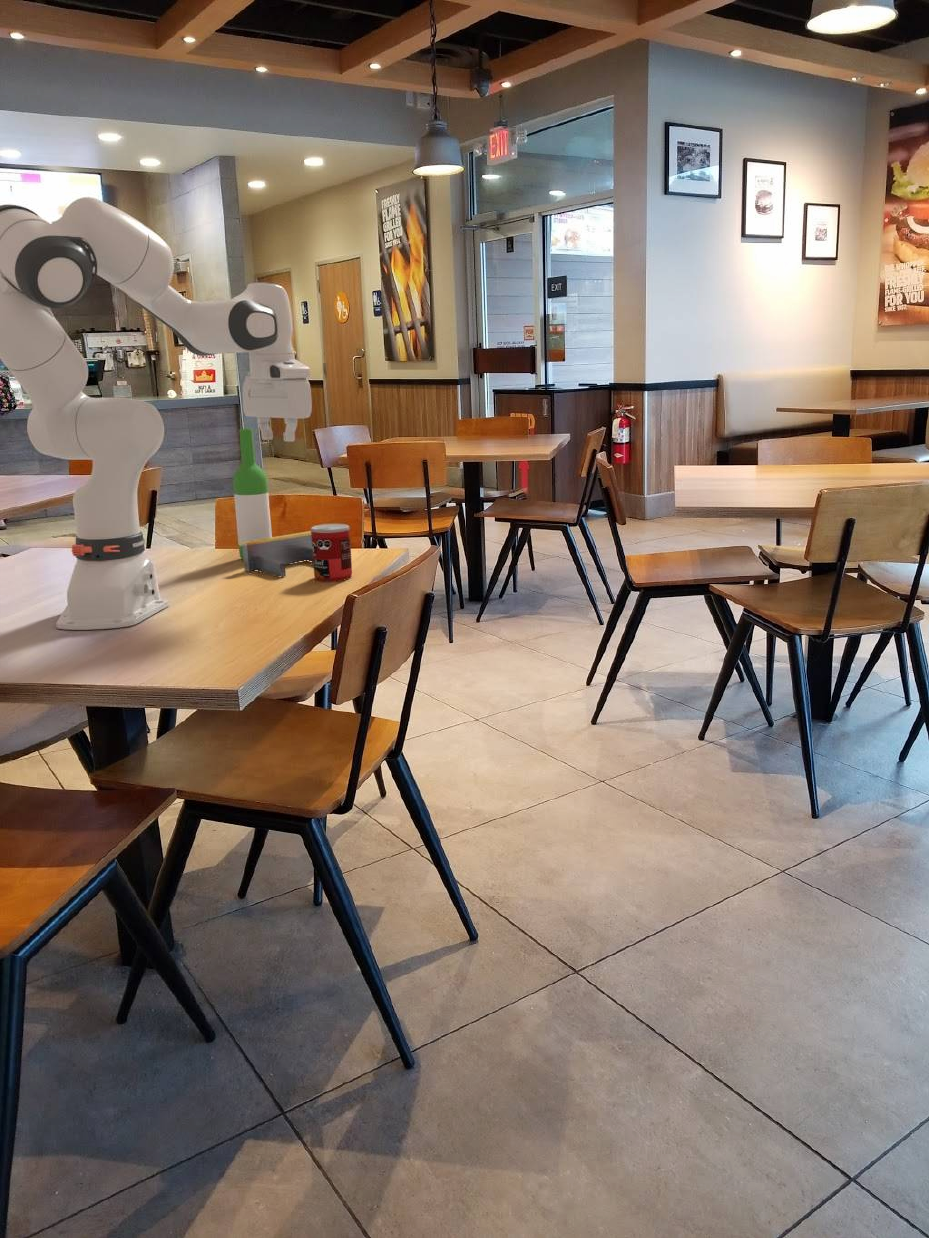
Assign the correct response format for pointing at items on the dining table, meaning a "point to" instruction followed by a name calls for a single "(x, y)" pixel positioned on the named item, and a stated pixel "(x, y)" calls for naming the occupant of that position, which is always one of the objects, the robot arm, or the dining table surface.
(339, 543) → the canned food
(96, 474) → the robot arm
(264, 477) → the wine bottle
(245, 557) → the loading bay
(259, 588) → the dining table surface
